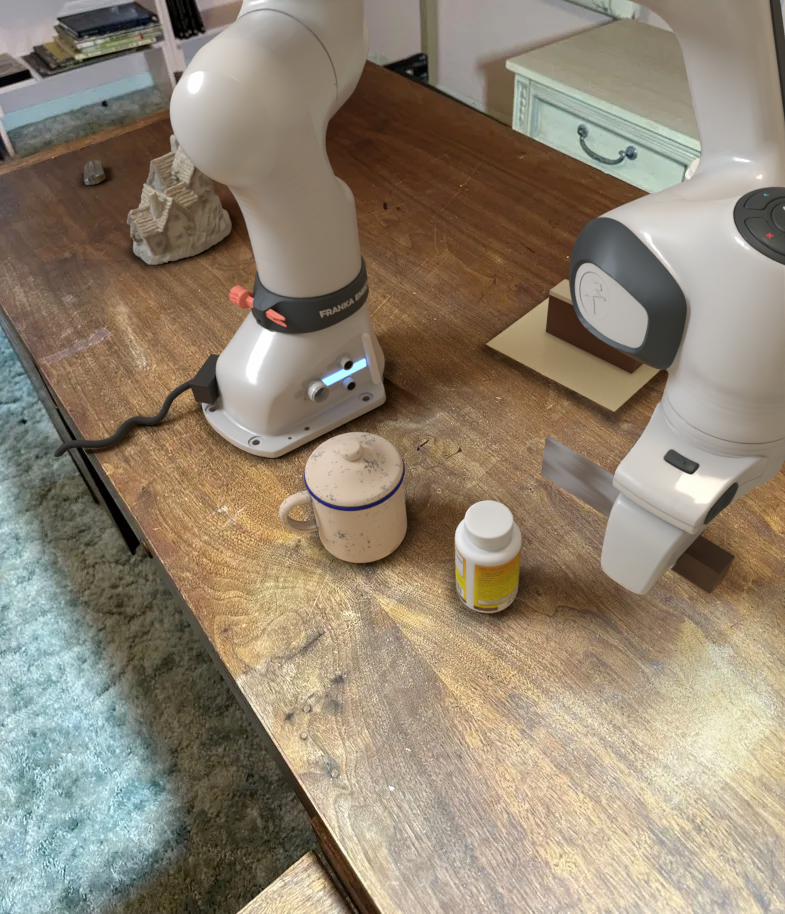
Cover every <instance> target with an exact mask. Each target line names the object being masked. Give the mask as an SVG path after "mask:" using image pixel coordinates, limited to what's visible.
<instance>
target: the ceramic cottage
mask: <svg viewBox="0 0 785 914" xmlns="http://www.w3.org/2000/svg"><path fill="white" fill-rule="evenodd" d="M169 142H170V152H168V153H166V154H164V155H162V156H160V157H156V158H154V159H152V160H150V164H149V173H148V177H147V179H146V182H145V183H143V188H142V192H141V195H140V203H139V205H138V208H135V209H130V211H128V213H127V219H126V224H127V225H129V226H130V228H129V230H130V232H129V234H130V235H129V236H130V238H131V239H132V240H133V245H132V251H133V253H134V255H135V256H136V257H138V258H140V259H141V260H142V261H143V262H145V263H146V264H148V265H152V266H157V265H163V264H164V263H169V261H170V262H175V261H178V260H180V259H181V260H182V259H184V258H189V257H194V256H195V255H198V254H200V253H202V252H204V251H205V250H209V249H210V248H211V247H213V246H214V245H215V246H216V245H217V244H219V242H221V241H222V240H224V238H227V236H228V235H230V233H231V231H232V221H231V218H230V214H229V213H228V211H227V210H226V209H224V208H223V205H222V203H221V199H220V197H219V196H218V195H217V194H216V192H215V191H216V190H215V185H214V180H213V179H211V178H209V177H208V176H206V175H205V174H204V173H202V172H201V171H200V170H199V169H198V168H197V167H196V166H194V165H193V163H192V162H191V161H190V160H189V159H188V158H187V156H186V155H185V154H184V152H183V151H182V149H181V147H180V145H179V144H178V142H177V139H176V137H175V135H174V133H173V134H170V137H169Z"/></svg>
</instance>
